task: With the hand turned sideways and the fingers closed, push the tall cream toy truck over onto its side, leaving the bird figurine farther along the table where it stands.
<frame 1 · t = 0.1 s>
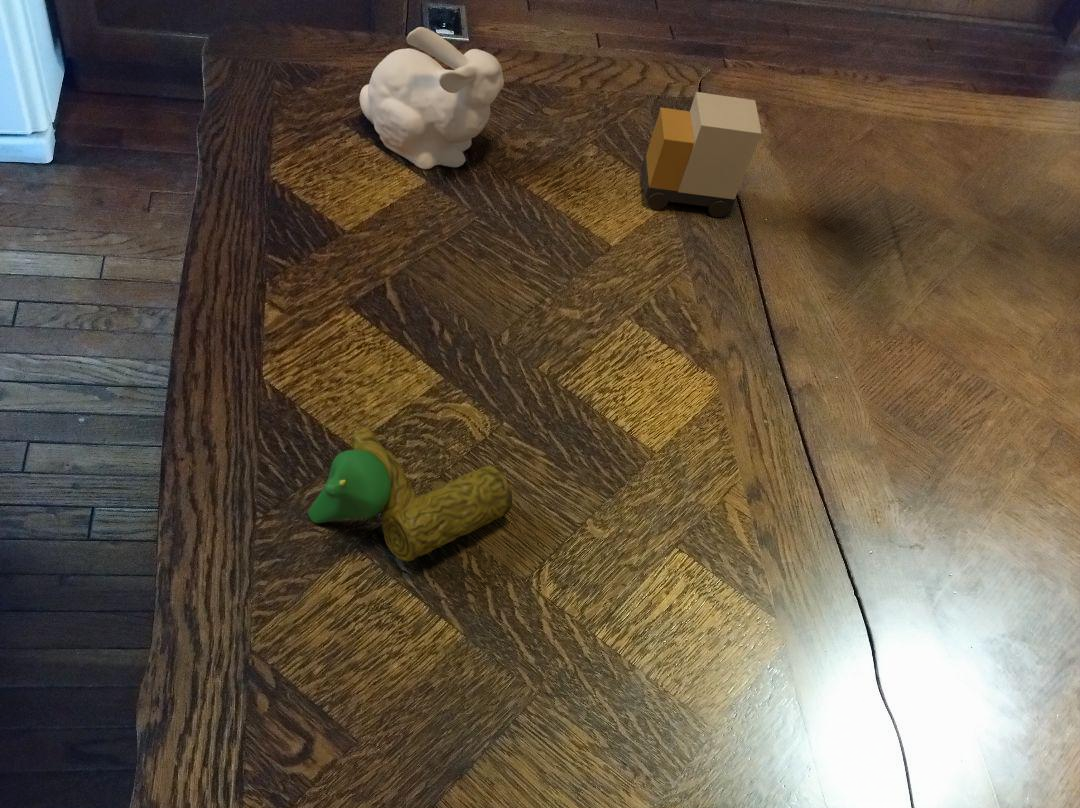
cream truck: (683, 196, 89), on the table
rabbit: (432, 150, 87), on the table
bird figurine: (392, 546, 66), on the table
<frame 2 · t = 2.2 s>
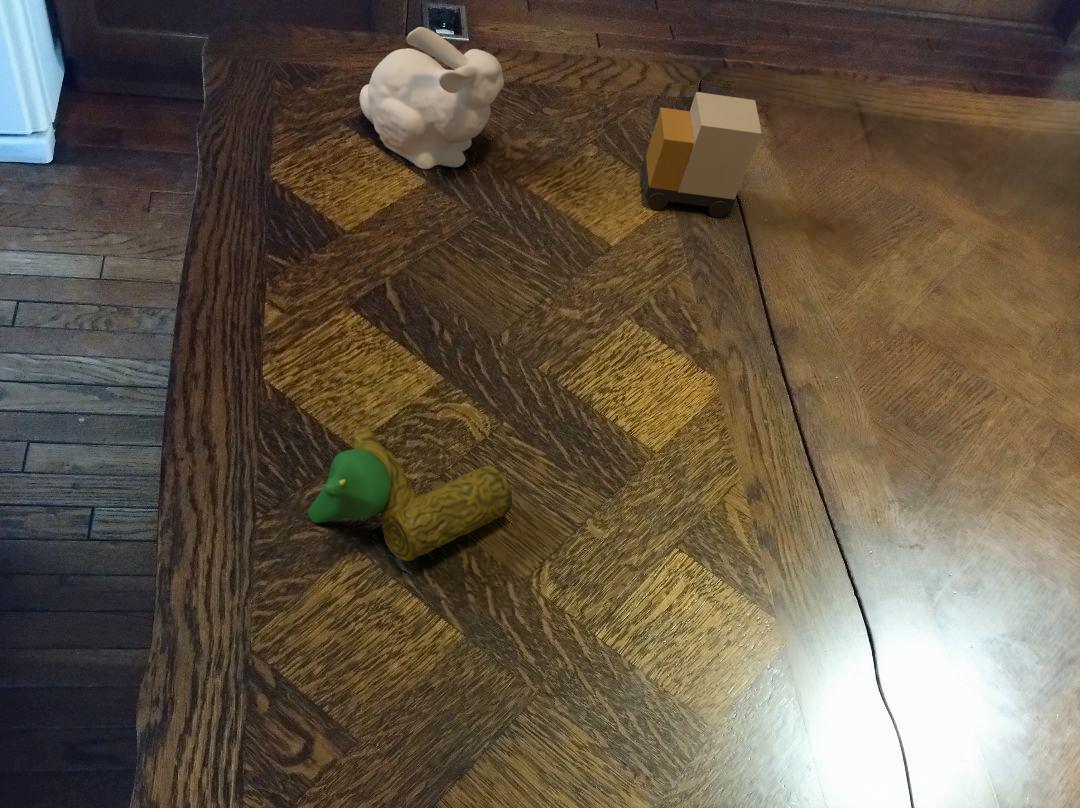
nothing on the table moved.
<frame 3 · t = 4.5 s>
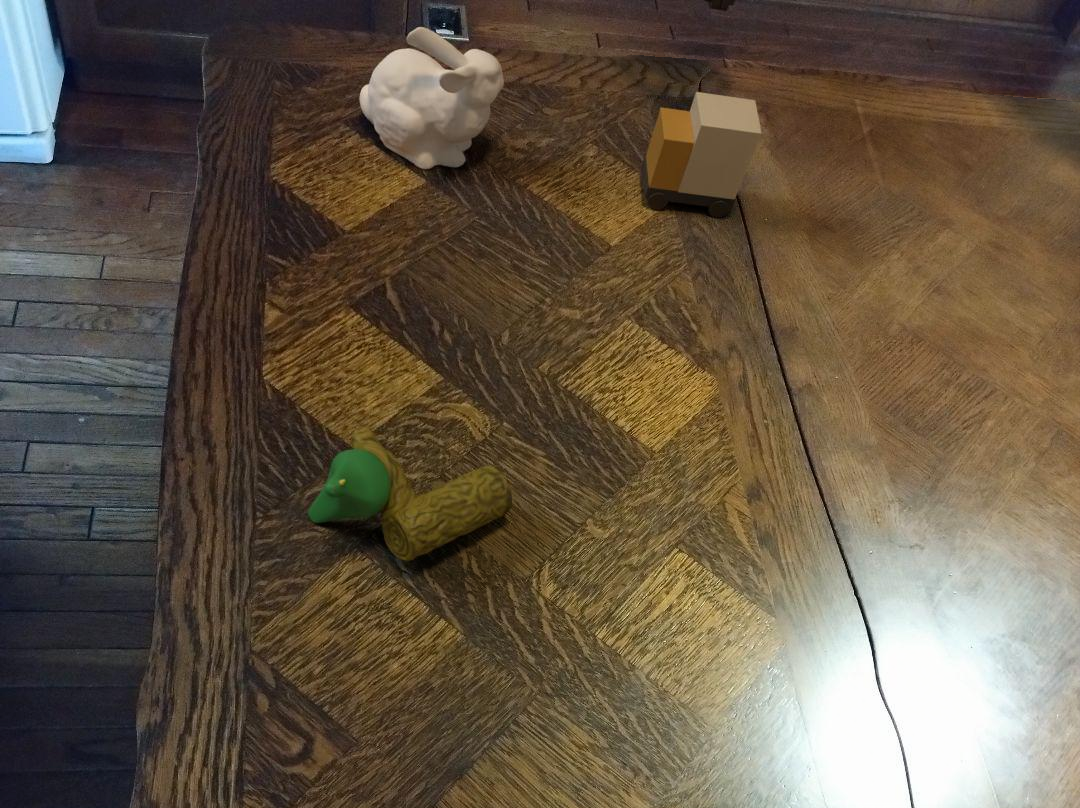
nothing on the table moved.
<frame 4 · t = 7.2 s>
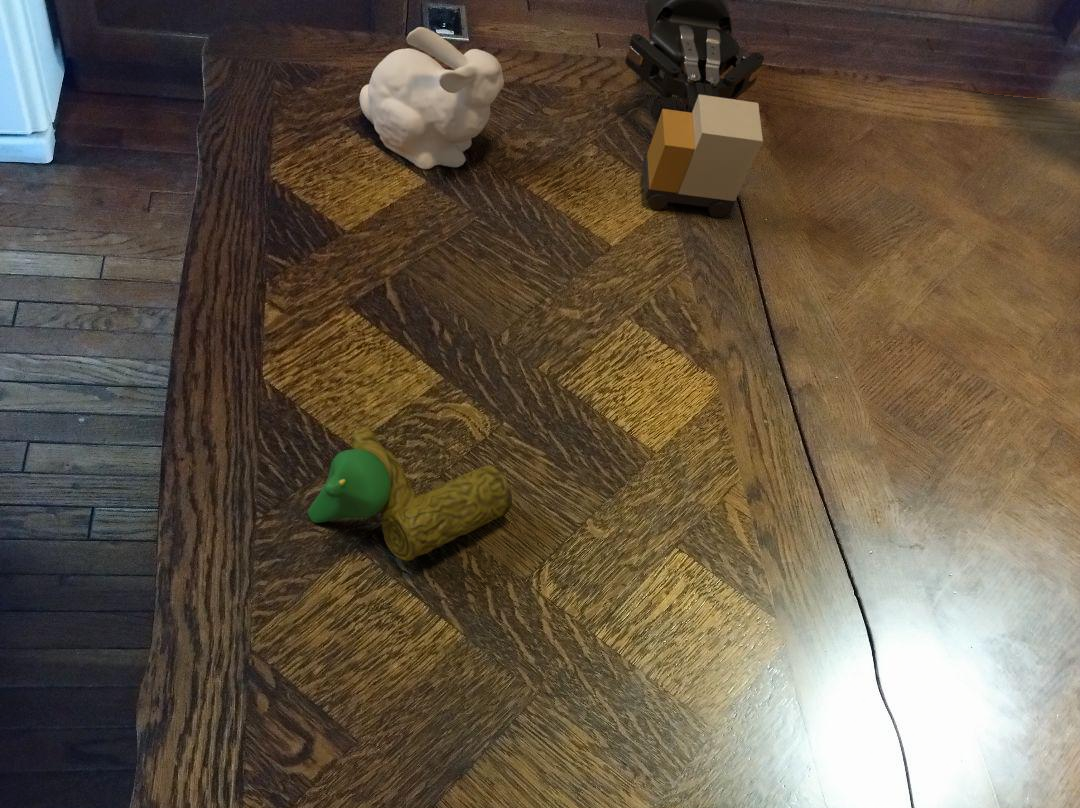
hand: (704, 121, 84), 7 cm above the table, tool horizontal, fingers closed
cream truck: (683, 194, 89), on the table, tilted 6°
everything else where it was.
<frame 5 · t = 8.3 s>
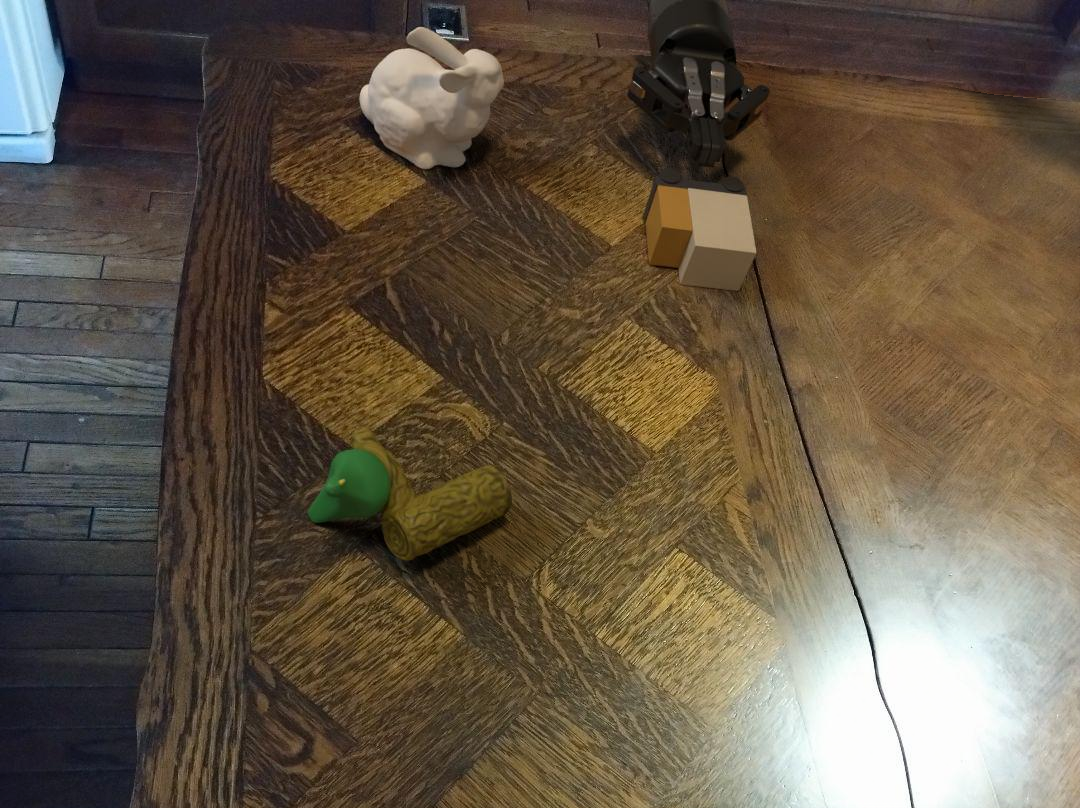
hand: (708, 157, 82), 6 cm above the table, tool horizontal, fingers closed
cream truck: (693, 193, 86), point 2 cm above the table, tilted 91°
everything else where it was.
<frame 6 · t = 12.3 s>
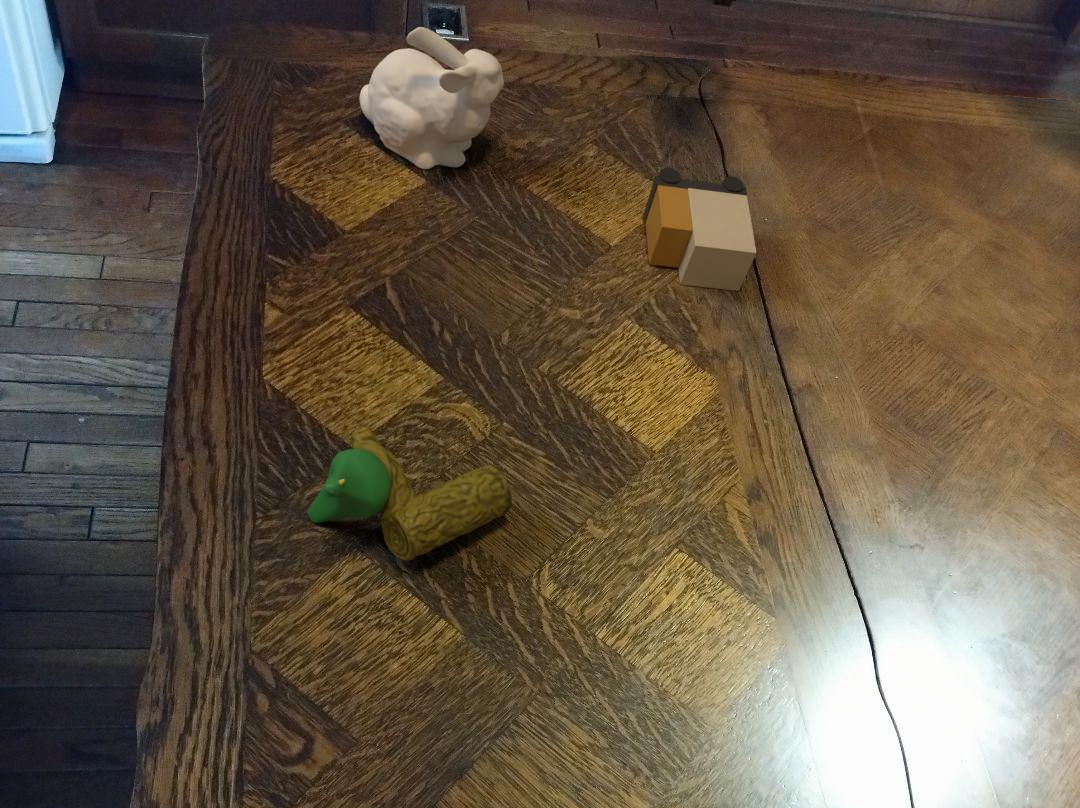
nothing on the table moved.
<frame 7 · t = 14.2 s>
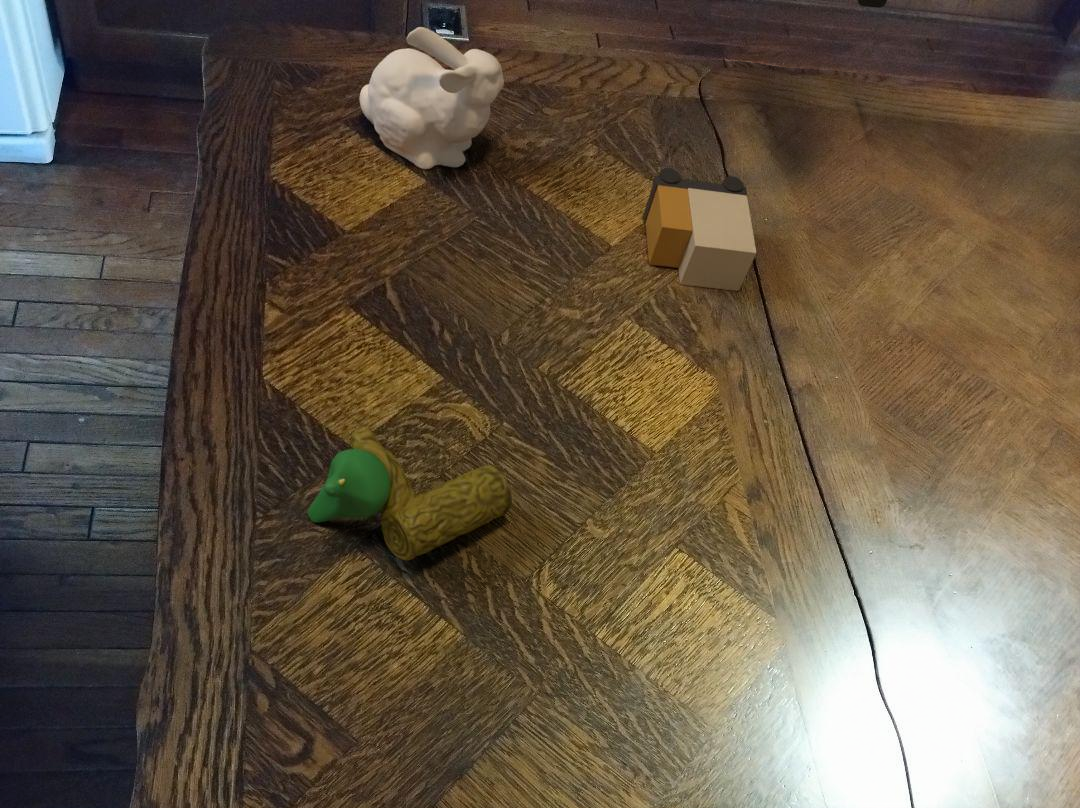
hand: (871, 3, 78), 17 cm above the table, tool tilted 15°, fingers closed
nothing on the table moved.
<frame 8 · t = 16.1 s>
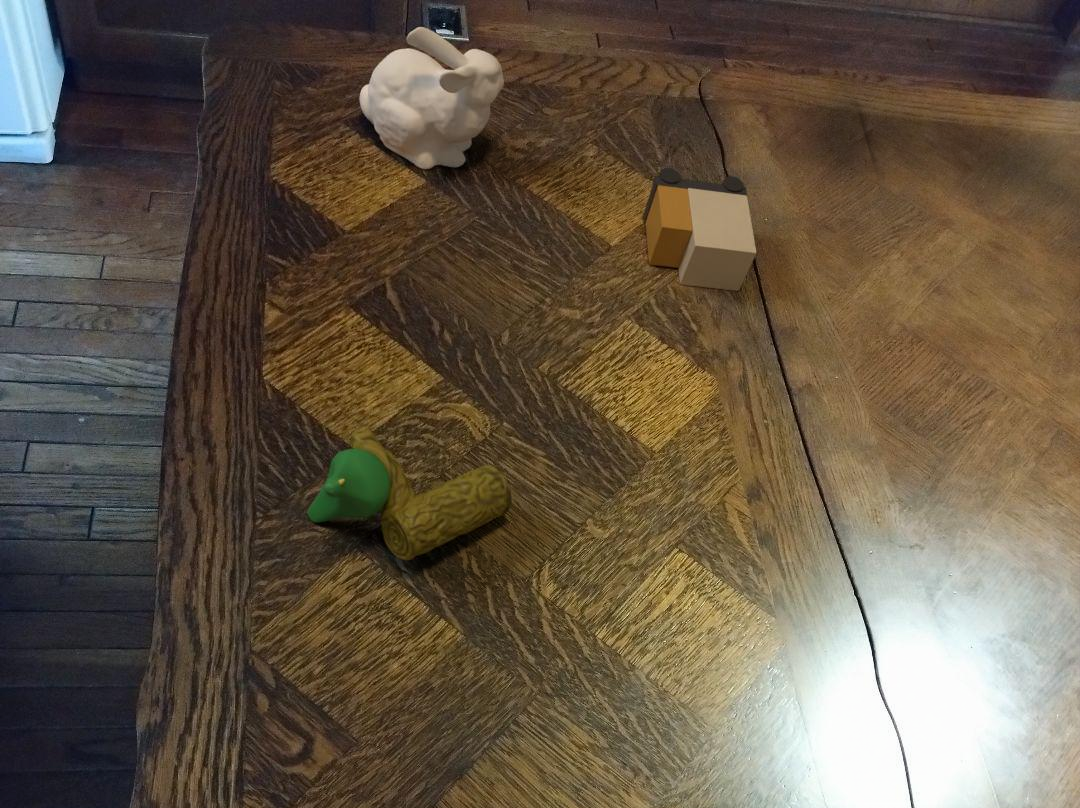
nothing on the table moved.
at the end: cream truck tilted 91°; bird figurine moved 0.2 cm from its start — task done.
